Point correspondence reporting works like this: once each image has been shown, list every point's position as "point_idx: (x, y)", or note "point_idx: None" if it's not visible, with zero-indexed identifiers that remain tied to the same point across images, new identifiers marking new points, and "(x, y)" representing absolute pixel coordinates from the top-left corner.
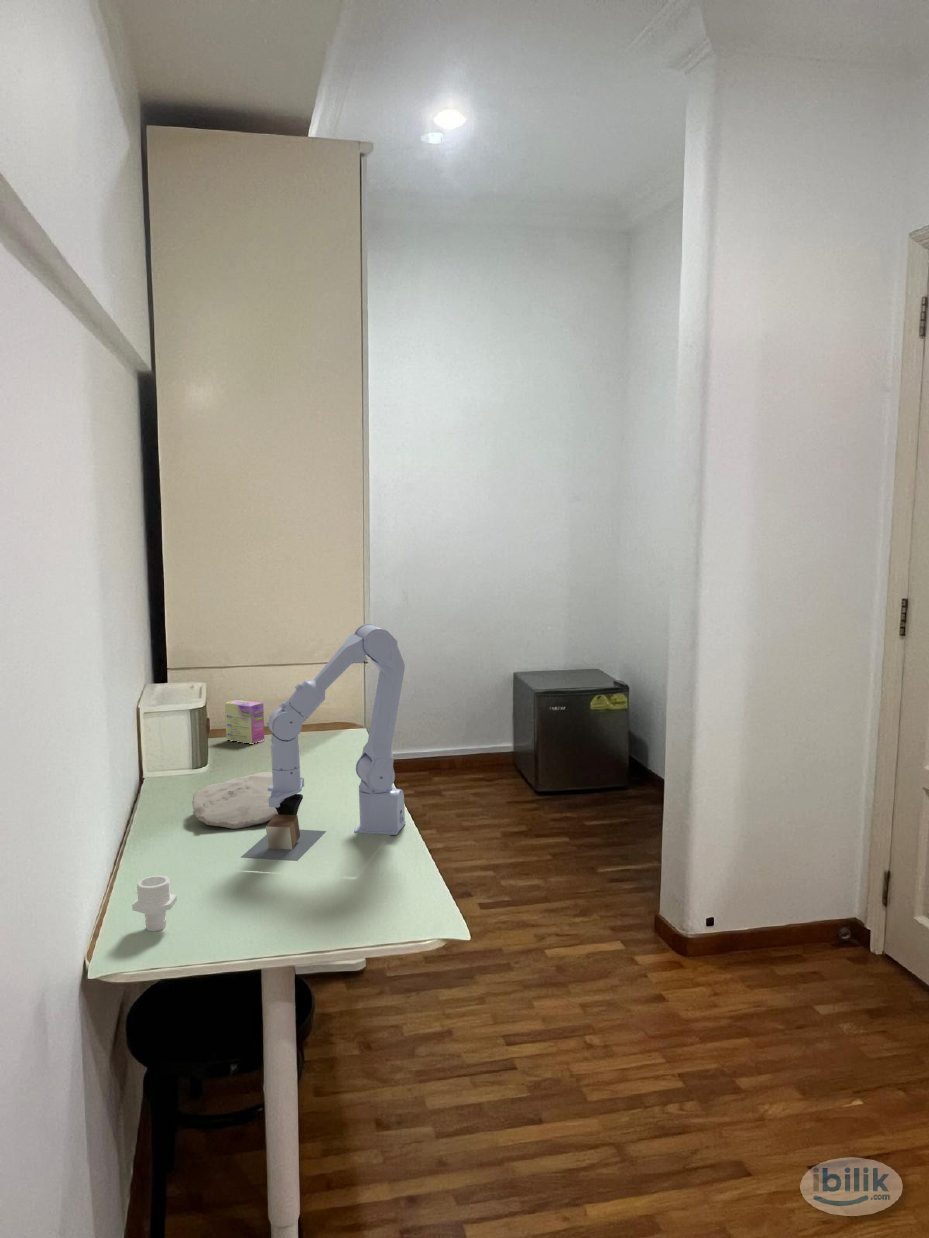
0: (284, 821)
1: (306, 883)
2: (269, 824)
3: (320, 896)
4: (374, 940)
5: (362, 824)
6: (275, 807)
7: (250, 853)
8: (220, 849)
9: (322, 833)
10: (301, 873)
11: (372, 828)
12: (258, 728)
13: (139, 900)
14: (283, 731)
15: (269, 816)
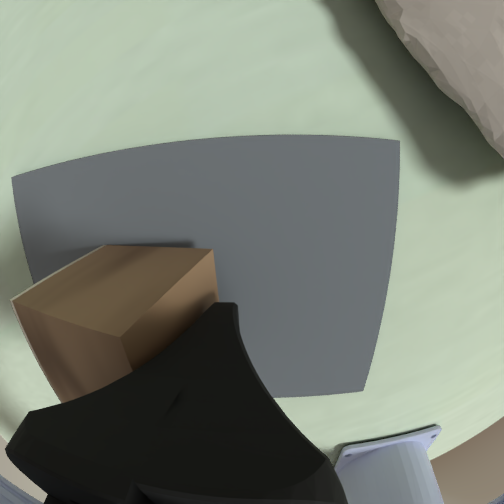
0: None
1: (22, 395)
2: (29, 317)
3: (15, 412)
4: (8, 442)
5: (359, 469)
6: (79, 403)
7: (41, 193)
8: (75, 29)
9: (335, 389)
10: (39, 385)
11: (339, 479)
12: None
13: None
14: None
15: (461, 100)
